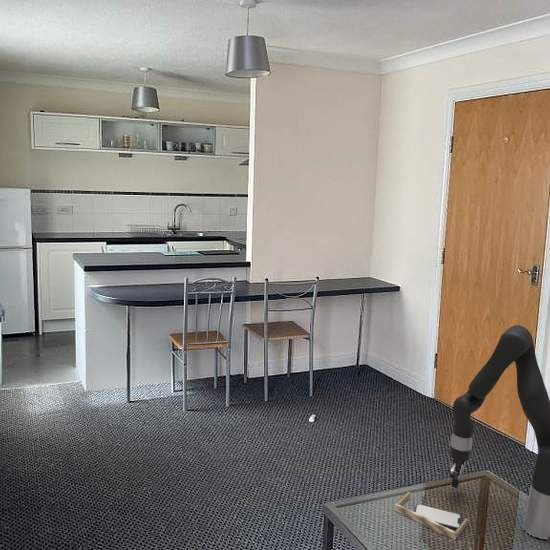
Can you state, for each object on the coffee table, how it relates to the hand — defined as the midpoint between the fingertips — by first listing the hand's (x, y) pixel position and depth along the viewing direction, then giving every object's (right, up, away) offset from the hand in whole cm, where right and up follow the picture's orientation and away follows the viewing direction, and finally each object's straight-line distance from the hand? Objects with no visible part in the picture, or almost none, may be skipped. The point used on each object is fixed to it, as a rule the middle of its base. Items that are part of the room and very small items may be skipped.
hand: (455, 486), depth 227 cm
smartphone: (-10, -7, -13) cm, 18 cm away
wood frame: (-13, -7, -13) cm, 19 cm away
